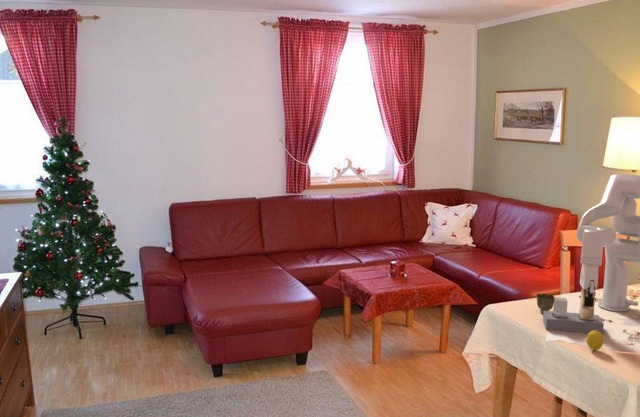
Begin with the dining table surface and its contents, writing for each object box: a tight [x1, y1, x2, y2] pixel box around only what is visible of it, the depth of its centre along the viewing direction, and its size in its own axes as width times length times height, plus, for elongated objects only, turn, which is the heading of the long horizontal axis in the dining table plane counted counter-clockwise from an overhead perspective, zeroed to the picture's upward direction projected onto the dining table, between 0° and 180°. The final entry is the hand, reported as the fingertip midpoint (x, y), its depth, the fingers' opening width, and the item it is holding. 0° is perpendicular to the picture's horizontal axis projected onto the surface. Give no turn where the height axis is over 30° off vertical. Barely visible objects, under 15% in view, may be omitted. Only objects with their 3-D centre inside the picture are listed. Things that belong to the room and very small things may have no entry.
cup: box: [536, 292, 555, 314], centre depth 255 cm, size 8×7×8 cm
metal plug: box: [552, 296, 568, 319], centre depth 237 cm, size 4×4×12 cm
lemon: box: [586, 330, 604, 352], centre depth 215 cm, size 6×6×8 cm
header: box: [542, 310, 604, 336], centre depth 237 cm, size 21×10×5 cm, turn 76°
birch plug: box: [578, 287, 596, 320], centre depth 234 cm, size 4×4×12 cm
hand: (587, 304), depth 234 cm, fingers closed on birch plug, 4 cm apart
